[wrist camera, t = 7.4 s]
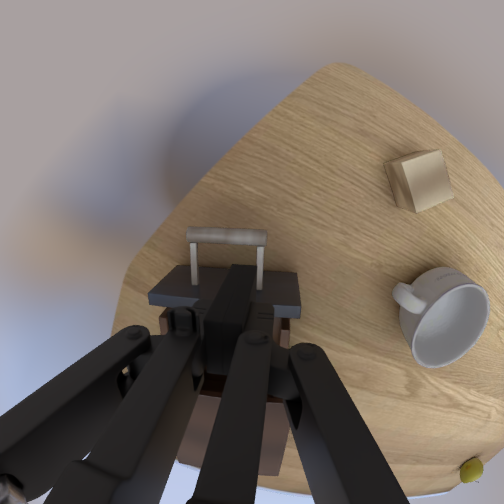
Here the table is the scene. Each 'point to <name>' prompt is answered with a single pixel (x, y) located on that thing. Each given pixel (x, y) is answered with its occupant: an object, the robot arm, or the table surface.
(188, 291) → the drawer
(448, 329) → the teacup
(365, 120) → the table surface
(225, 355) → the robot arm
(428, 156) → the block
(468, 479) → the apple
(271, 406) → the cabinet
